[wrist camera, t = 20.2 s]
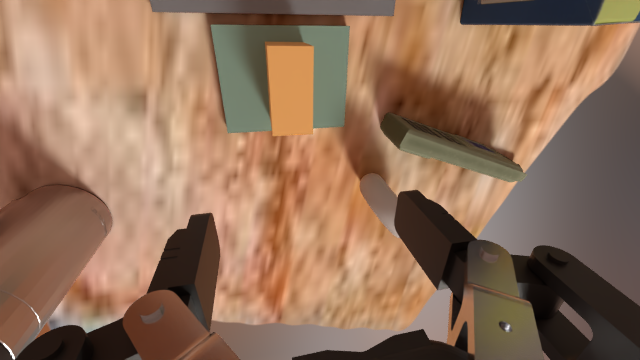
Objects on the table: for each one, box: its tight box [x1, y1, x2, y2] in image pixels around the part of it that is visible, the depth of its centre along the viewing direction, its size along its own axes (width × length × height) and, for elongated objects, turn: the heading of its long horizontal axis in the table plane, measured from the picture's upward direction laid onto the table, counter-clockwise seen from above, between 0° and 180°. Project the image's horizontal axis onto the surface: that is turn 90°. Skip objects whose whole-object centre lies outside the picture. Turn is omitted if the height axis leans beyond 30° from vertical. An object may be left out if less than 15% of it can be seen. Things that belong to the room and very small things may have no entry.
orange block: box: [265, 42, 314, 136], centre depth 28 cm, size 4×8×6 cm, turn 177°
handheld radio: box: [380, 113, 527, 182], centre depth 38 cm, size 7×3×25 cm
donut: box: [360, 173, 400, 238], centre depth 37 cm, size 10×4×10 cm, turn 37°
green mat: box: [211, 25, 350, 133], centre depth 31 cm, size 14×11×1 cm
